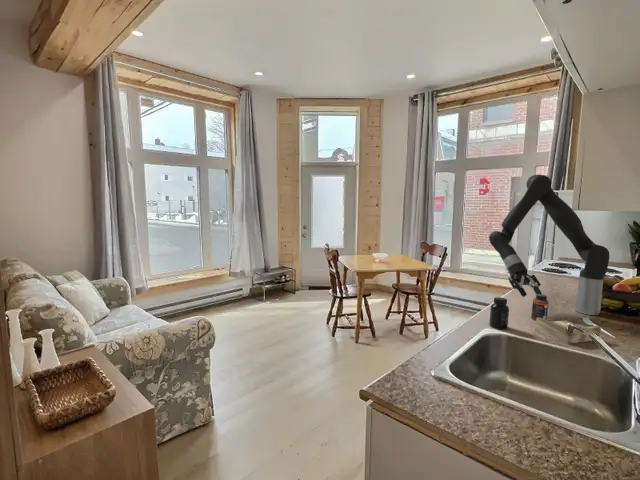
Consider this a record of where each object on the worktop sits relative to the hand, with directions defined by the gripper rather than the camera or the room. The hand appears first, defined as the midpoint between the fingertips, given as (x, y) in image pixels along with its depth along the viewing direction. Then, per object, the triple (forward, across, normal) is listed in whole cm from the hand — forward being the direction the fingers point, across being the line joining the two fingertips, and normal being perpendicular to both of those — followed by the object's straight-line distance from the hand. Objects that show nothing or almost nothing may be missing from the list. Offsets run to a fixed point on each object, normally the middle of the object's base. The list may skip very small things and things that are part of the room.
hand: (532, 295), depth 160 cm
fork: (+20, +17, -6) cm, 27 cm away
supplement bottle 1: (+13, -26, +1) cm, 29 cm away
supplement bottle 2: (+10, 0, +4) cm, 11 cm away
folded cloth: (+22, -5, -8) cm, 24 cm away
